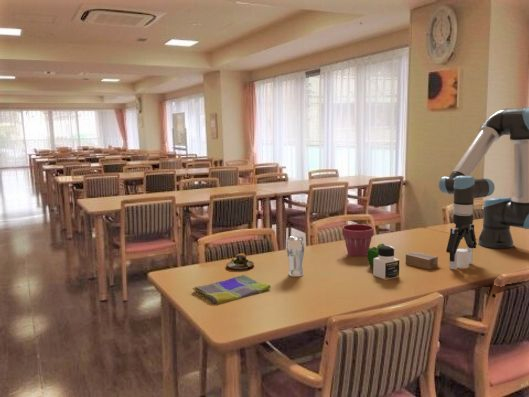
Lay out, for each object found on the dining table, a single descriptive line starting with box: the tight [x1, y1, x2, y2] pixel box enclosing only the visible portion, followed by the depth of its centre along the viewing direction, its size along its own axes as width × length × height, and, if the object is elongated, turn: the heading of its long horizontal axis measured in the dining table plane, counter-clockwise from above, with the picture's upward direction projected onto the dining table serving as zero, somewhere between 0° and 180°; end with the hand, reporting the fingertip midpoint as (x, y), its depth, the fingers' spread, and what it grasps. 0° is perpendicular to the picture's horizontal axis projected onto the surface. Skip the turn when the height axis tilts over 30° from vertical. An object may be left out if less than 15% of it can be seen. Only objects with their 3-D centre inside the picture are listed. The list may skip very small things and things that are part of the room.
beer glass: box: [286, 236, 305, 278], centre depth 182 cm, size 7×7×15 cm
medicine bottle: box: [372, 244, 400, 281], centre depth 177 cm, size 7×7×12 cm
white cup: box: [456, 247, 471, 269], centre depth 187 cm, size 7×7×7 cm
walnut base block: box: [405, 251, 439, 270], centre depth 191 cm, size 6×11×4 cm, turn 37°
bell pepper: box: [367, 243, 385, 268], centre depth 189 cm, size 8×8×10 cm
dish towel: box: [192, 274, 271, 305], centre depth 166 cm, size 18×24×3 cm
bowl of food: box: [226, 249, 255, 270], centre depth 195 cm, size 12×12×8 cm
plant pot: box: [341, 223, 375, 258], centre depth 209 cm, size 14×14×13 cm
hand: (461, 265), depth 188 cm, fingers open, 11 cm apart
